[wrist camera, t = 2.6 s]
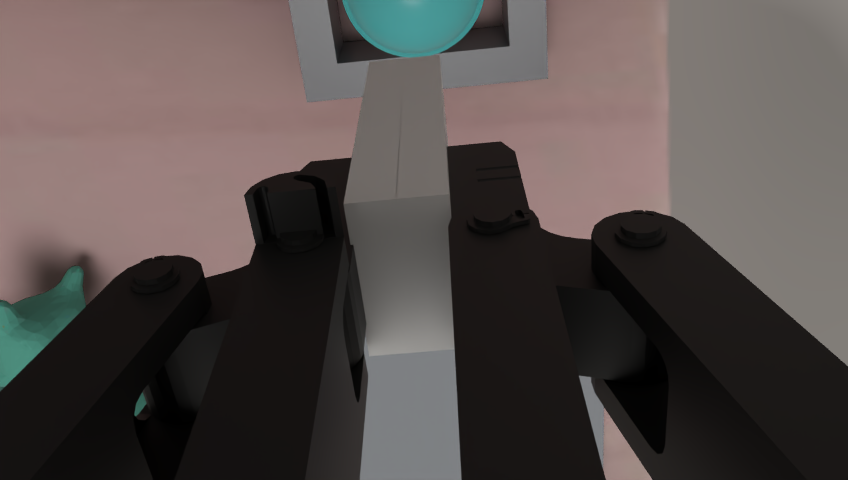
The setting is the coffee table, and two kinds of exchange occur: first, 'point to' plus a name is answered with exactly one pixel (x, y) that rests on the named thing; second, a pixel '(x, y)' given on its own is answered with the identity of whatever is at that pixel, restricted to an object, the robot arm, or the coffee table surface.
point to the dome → (413, 24)
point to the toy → (40, 325)
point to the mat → (424, 417)
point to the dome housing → (460, 64)
